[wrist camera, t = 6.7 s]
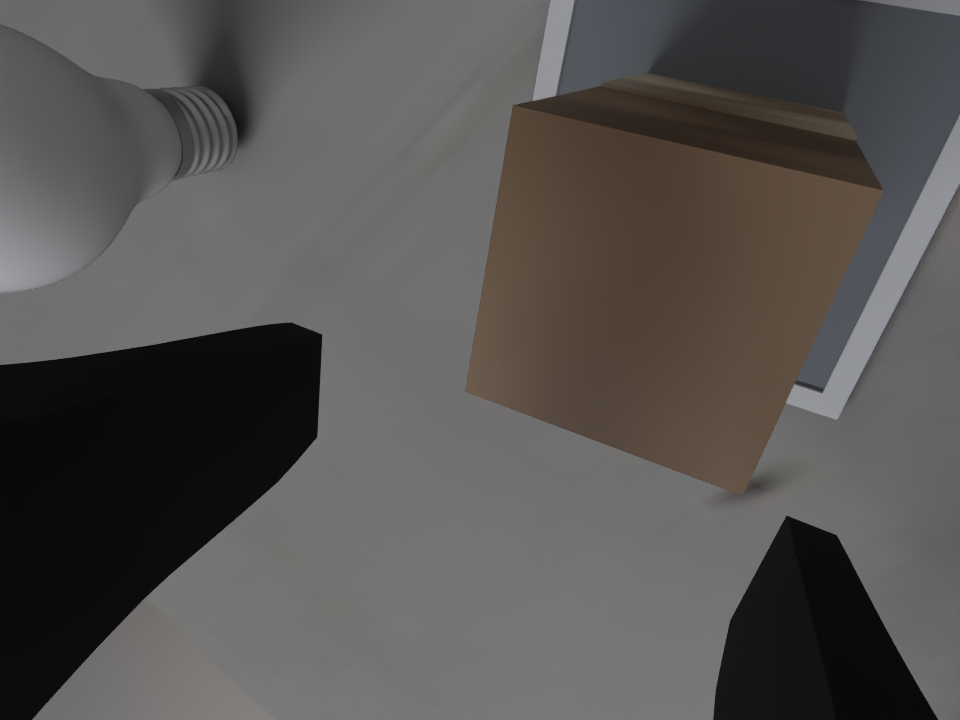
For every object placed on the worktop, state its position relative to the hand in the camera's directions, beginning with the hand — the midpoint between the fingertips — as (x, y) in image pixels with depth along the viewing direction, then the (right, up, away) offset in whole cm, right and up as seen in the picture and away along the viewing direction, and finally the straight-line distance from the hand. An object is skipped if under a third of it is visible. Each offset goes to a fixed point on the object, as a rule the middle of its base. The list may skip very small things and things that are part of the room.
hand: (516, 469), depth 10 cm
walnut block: (+3, +4, +3) cm, 6 cm away
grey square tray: (+5, +6, +7) cm, 11 cm away
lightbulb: (-9, +10, +13) cm, 18 cm away
